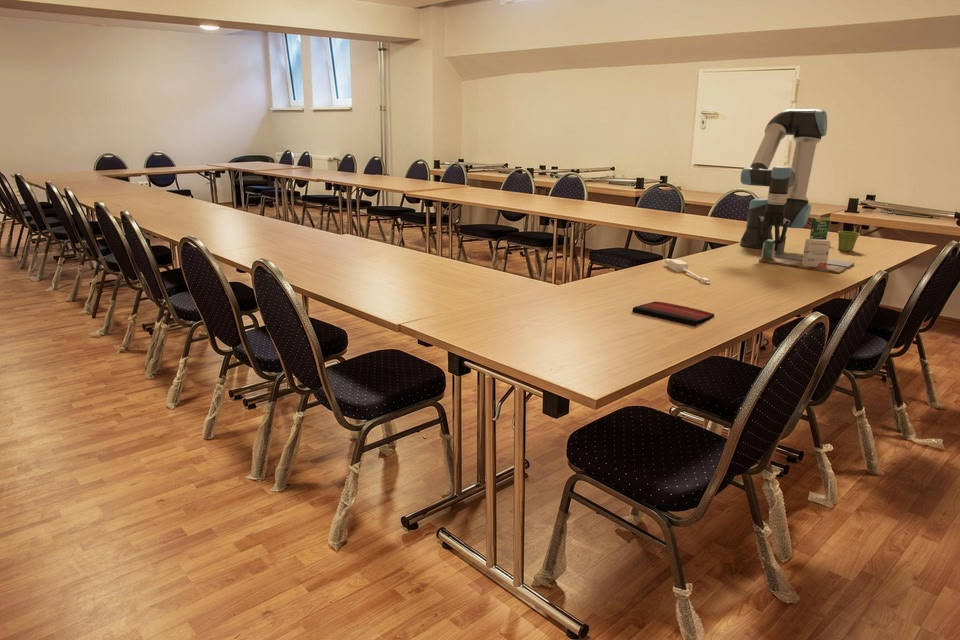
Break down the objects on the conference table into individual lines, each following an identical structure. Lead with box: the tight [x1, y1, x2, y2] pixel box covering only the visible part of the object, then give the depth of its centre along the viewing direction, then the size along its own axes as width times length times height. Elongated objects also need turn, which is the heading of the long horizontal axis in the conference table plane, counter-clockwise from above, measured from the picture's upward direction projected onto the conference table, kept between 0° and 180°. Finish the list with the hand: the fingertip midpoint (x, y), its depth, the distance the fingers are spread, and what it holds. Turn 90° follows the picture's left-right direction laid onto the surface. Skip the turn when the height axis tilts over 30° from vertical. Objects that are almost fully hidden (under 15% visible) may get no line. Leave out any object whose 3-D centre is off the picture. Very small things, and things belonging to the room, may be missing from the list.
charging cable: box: [664, 258, 712, 285], centre depth 261 cm, size 5×32×3 cm, turn 11°
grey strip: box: [775, 235, 855, 269], centre depth 291 cm, size 32×11×9 cm, turn 50°
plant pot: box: [837, 230, 861, 252], centre depth 317 cm, size 9×9×9 cm
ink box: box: [802, 238, 831, 267], centre depth 277 cm, size 9×5×12 cm, turn 80°
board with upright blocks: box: [758, 239, 847, 274], centre depth 281 cm, size 32×11×9 cm, turn 50°
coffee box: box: [809, 217, 831, 240], centre depth 332 cm, size 8×3×13 cm, turn 100°
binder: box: [632, 301, 715, 328], centre depth 208 cm, size 16×2×21 cm
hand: (767, 257), depth 290 cm, fingers open, 3 cm apart
